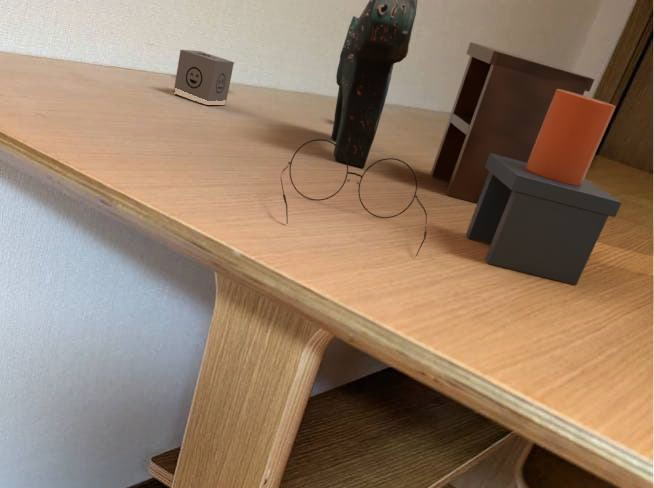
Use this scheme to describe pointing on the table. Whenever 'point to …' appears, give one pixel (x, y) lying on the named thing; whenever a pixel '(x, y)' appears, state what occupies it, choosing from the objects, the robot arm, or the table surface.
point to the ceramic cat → (368, 74)
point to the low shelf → (538, 221)
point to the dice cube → (203, 75)
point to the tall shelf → (497, 115)
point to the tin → (569, 137)
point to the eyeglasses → (357, 183)
